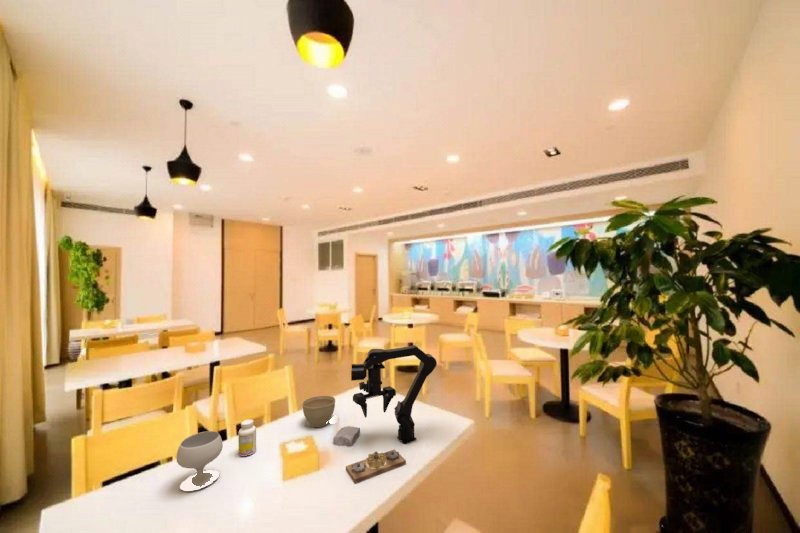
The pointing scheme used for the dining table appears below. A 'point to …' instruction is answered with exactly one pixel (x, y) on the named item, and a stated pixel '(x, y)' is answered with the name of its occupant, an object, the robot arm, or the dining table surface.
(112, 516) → the dining table surface
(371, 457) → the wooden gear
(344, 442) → the stone block
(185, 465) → the chalice
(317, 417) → the planter bowl
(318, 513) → the dining table surface
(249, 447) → the supplement bottle
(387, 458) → the gear board
